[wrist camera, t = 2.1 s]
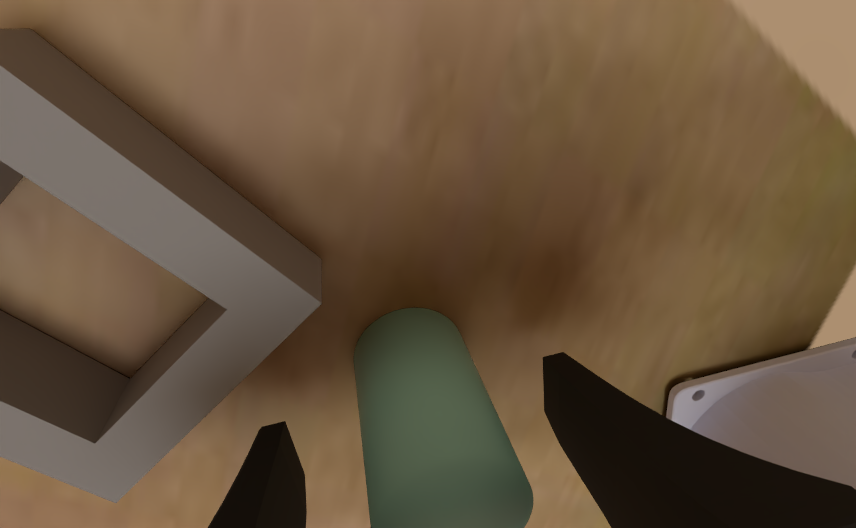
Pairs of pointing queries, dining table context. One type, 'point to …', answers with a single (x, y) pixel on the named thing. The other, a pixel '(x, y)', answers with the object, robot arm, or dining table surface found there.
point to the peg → (432, 430)
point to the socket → (156, 239)
